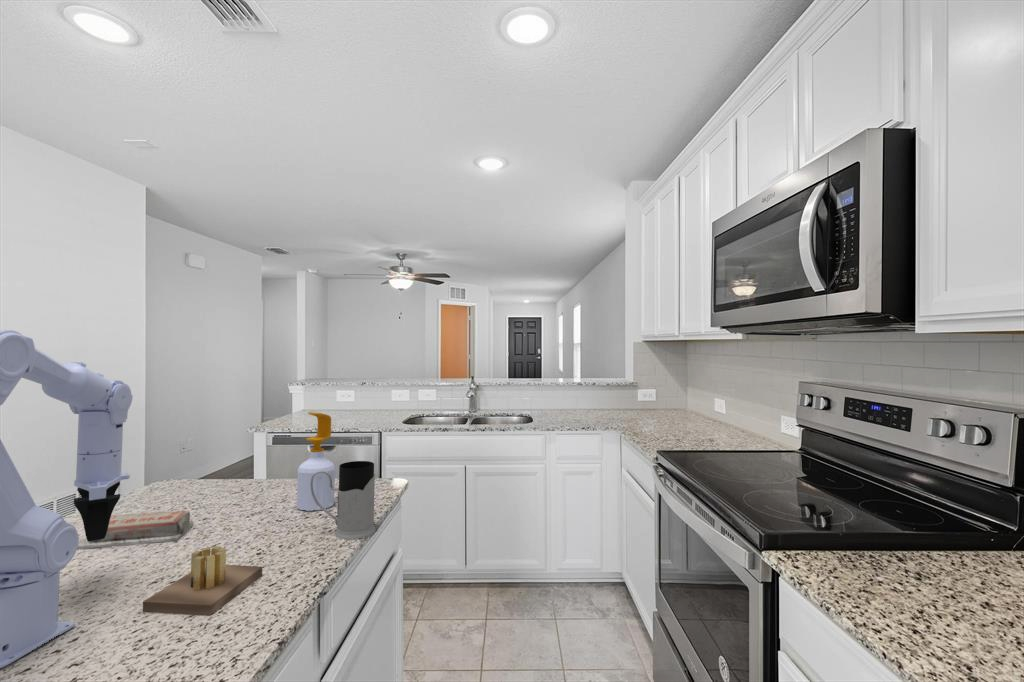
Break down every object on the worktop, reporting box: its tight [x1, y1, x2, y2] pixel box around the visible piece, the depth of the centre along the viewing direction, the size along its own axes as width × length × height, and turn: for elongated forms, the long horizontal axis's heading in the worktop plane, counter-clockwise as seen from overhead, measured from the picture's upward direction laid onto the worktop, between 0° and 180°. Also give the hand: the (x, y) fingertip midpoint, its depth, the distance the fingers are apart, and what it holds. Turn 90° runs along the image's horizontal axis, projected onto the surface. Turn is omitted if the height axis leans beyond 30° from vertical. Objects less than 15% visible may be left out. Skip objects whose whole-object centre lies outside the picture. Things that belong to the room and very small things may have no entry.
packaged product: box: [76, 510, 195, 551], centre depth 101 cm, size 18×5×10 cm
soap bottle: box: [296, 412, 336, 512], centre depth 122 cm, size 9×9×25 cm
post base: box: [142, 560, 263, 616], centre depth 78 cm, size 13×11×5 cm
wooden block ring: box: [190, 545, 227, 590], centre depth 78 cm, size 5×5×5 cm
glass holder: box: [311, 460, 377, 540], centre depth 105 cm, size 9×14×15 cm, turn 99°
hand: (96, 532), depth 79 cm, fingers open, 7 cm apart
